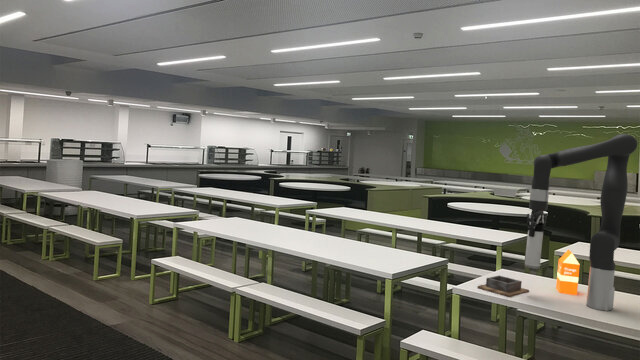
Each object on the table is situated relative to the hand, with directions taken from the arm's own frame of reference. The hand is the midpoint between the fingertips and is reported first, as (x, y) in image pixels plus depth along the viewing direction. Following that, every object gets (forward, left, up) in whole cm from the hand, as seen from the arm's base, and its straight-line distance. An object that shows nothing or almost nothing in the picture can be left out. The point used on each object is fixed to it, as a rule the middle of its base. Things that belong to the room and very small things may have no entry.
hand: (535, 236), depth 211 cm
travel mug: (0, 0, -14) cm, 14 cm away
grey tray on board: (+12, +1, -28) cm, 31 cm away
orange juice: (-5, -27, -28) cm, 39 cm away
